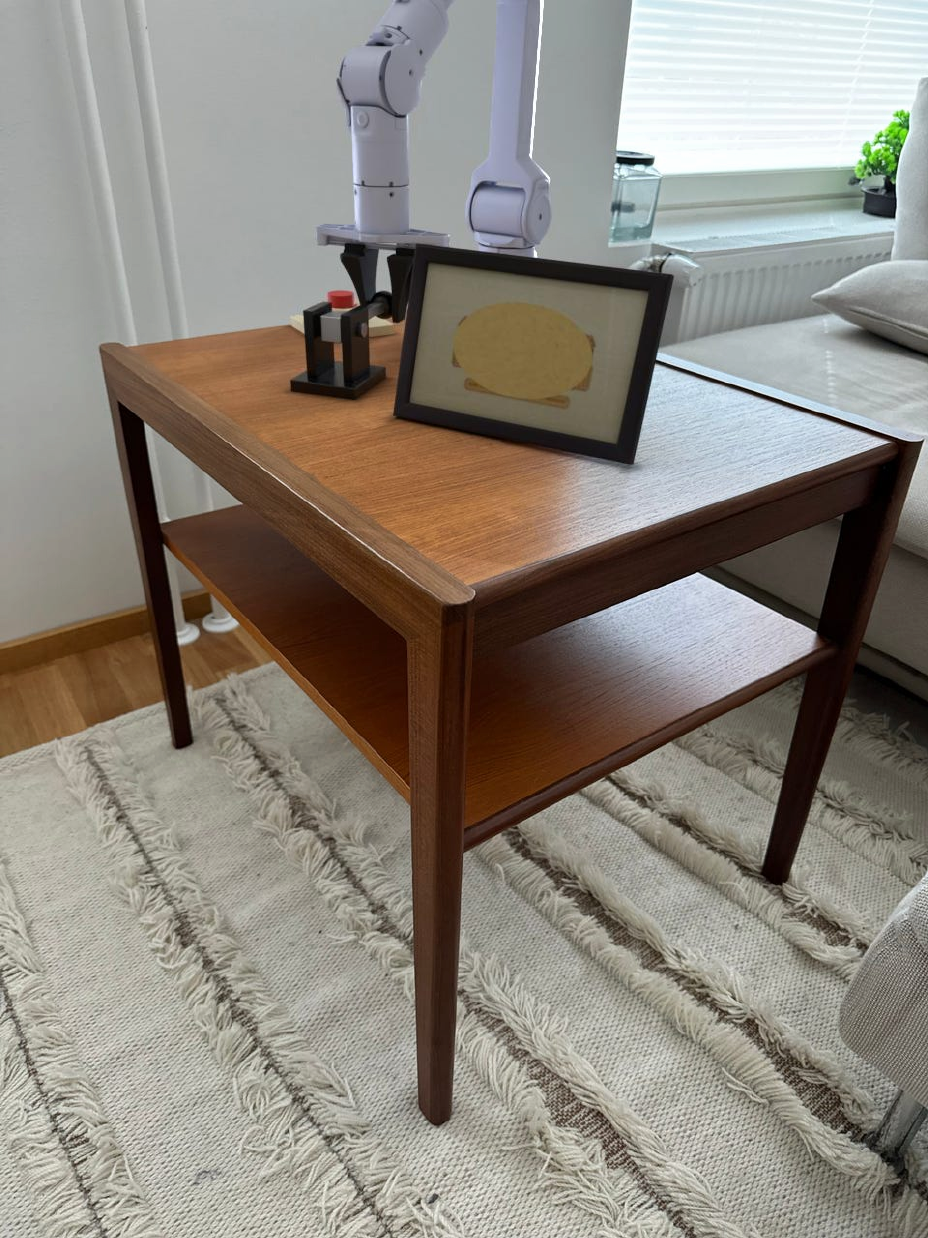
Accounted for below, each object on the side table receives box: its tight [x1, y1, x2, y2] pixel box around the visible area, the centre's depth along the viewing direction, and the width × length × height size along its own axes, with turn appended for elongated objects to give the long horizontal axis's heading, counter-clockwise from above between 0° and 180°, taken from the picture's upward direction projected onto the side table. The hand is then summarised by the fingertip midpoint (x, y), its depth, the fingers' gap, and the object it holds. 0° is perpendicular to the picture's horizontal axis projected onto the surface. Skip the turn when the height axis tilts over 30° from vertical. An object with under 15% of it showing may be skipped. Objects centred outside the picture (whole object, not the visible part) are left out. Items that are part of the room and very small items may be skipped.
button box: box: [289, 299, 396, 338], centre depth 109 cm, size 10×9×3 cm
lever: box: [320, 290, 392, 344], centre depth 93 cm, size 15×3×3 cm, turn 162°
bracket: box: [289, 300, 387, 401], centre depth 89 cm, size 8×7×8 cm
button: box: [326, 289, 355, 309], centre depth 108 cm, size 3×3×2 cm
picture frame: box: [392, 243, 675, 466], centre depth 79 cm, size 23×9×15 cm, turn 62°
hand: (384, 319), depth 99 cm, fingers closed on lever, 3 cm apart
